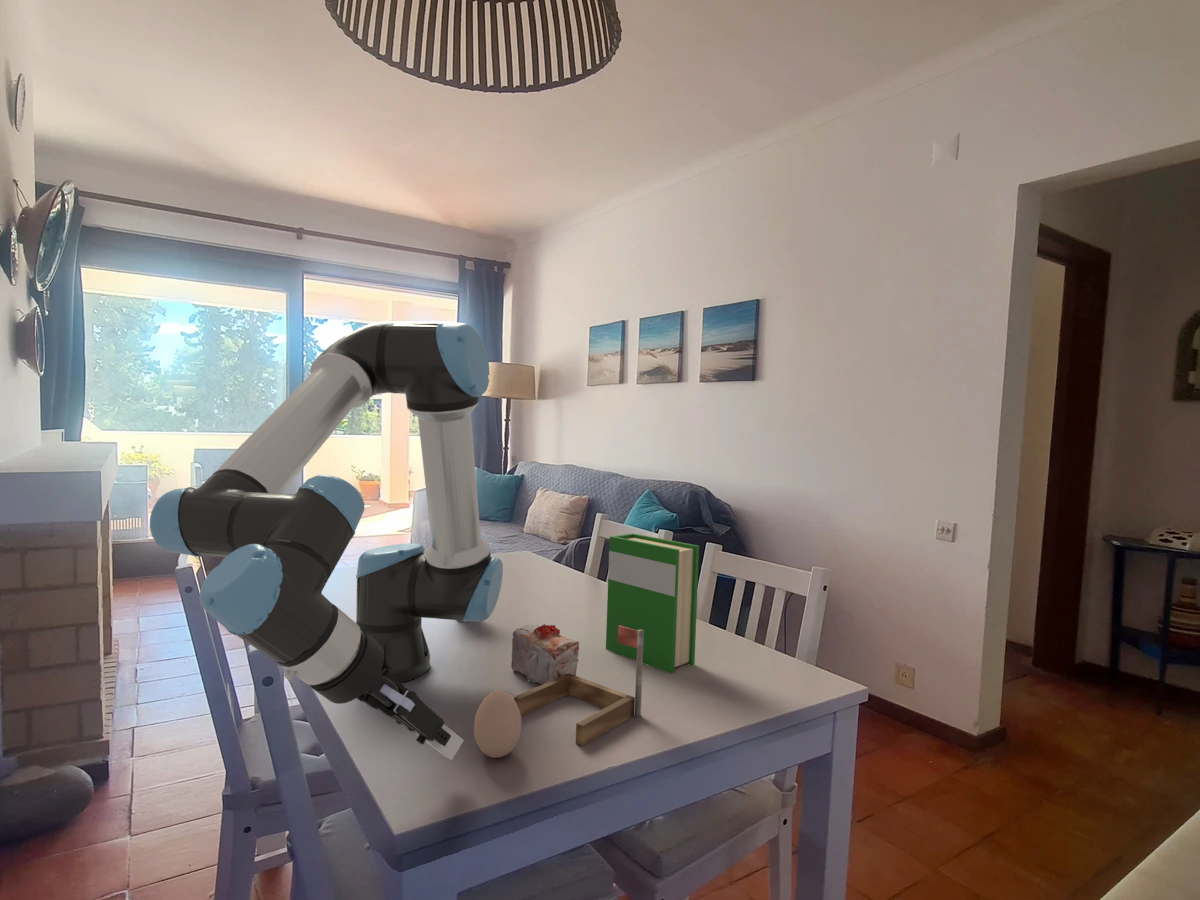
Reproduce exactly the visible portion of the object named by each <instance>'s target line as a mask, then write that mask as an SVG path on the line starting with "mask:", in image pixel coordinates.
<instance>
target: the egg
mask: <svg viewBox="0 0 1200 900" xmlns="http://www.w3.org/2000/svg"><path fill="white" fill-rule="evenodd" d="M473 723H474V724H473V735H474V740H475V742H476V744H477V746H478V748H479V750H481V752H482V753H483V754H485V755H486V756H487V757H489V758H494V759H498V758H503V757H504V756H507V755H508V754H509V753H510V752H512V751H513V750H514V748H515V747H516V746H517V744H518V742H519V740H520V737H521V734H522V733H521V732H522V727H523V726H522V716H521V714H520V711H519V708H518V706H517V703H516V702H515V700H514V697H513V696H512V695H511V694H510V693H509V692H507V691H504V690H501V689H500V690H494V691H492V692H490V693H488V695H486V696H485V697H484V698H483V700H481V702H480V704H479V707H478V709H477V710H476V714H475V716H474V722H473Z"/></svg>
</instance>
